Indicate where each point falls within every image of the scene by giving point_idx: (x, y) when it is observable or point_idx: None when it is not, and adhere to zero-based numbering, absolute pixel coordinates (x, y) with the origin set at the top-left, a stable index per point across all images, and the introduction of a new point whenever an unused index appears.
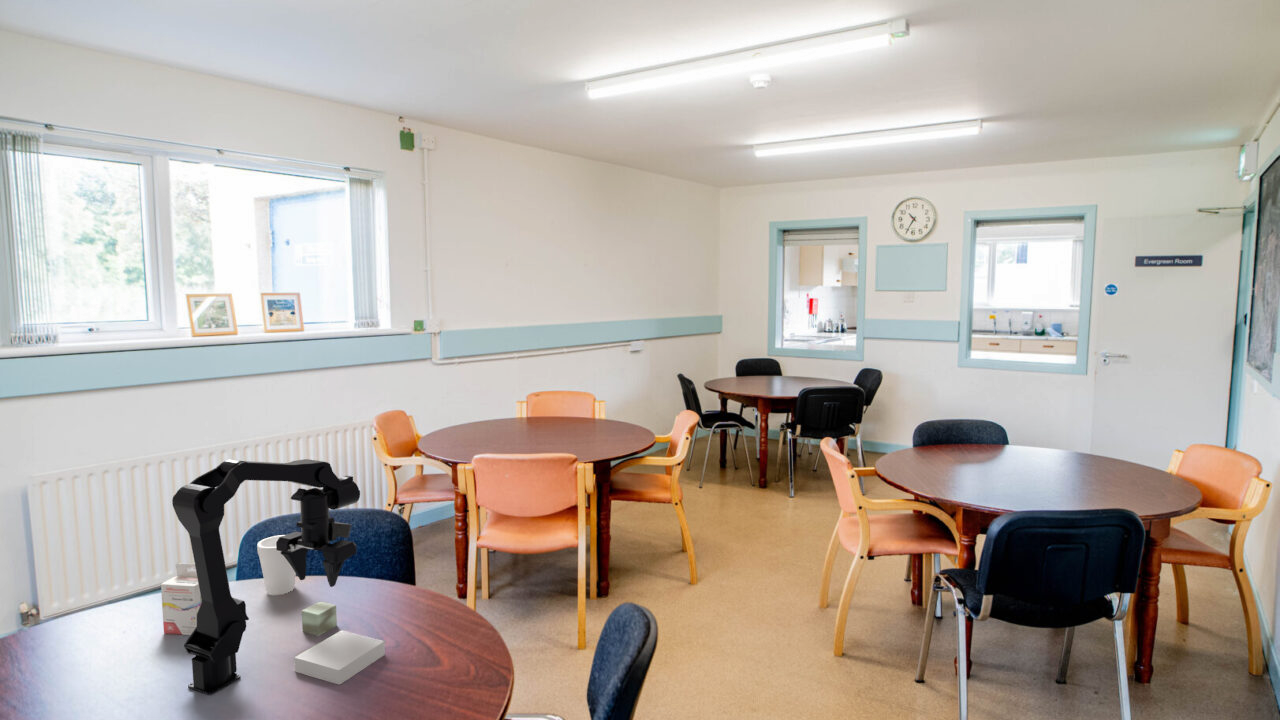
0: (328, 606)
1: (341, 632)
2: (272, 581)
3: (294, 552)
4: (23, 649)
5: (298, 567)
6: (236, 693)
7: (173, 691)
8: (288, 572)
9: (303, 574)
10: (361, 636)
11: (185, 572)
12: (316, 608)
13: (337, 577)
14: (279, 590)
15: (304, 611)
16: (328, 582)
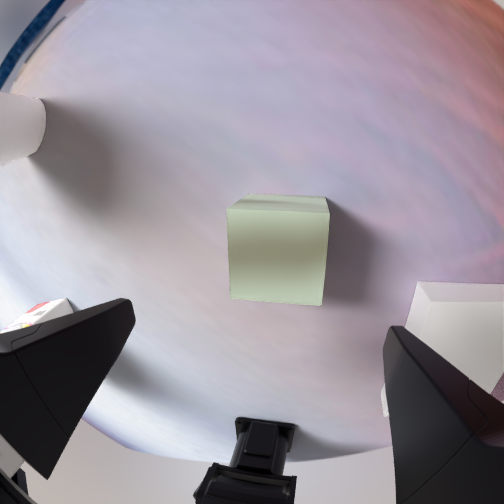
0: (305, 234)
1: (437, 312)
2: (9, 159)
3: (25, 455)
4: None
5: (86, 380)
6: (324, 441)
7: (229, 445)
8: (5, 126)
9: (116, 325)
10: (493, 306)
11: None
12: (270, 266)
13: (435, 355)
14: (33, 143)
15: (245, 299)
16: (386, 385)
